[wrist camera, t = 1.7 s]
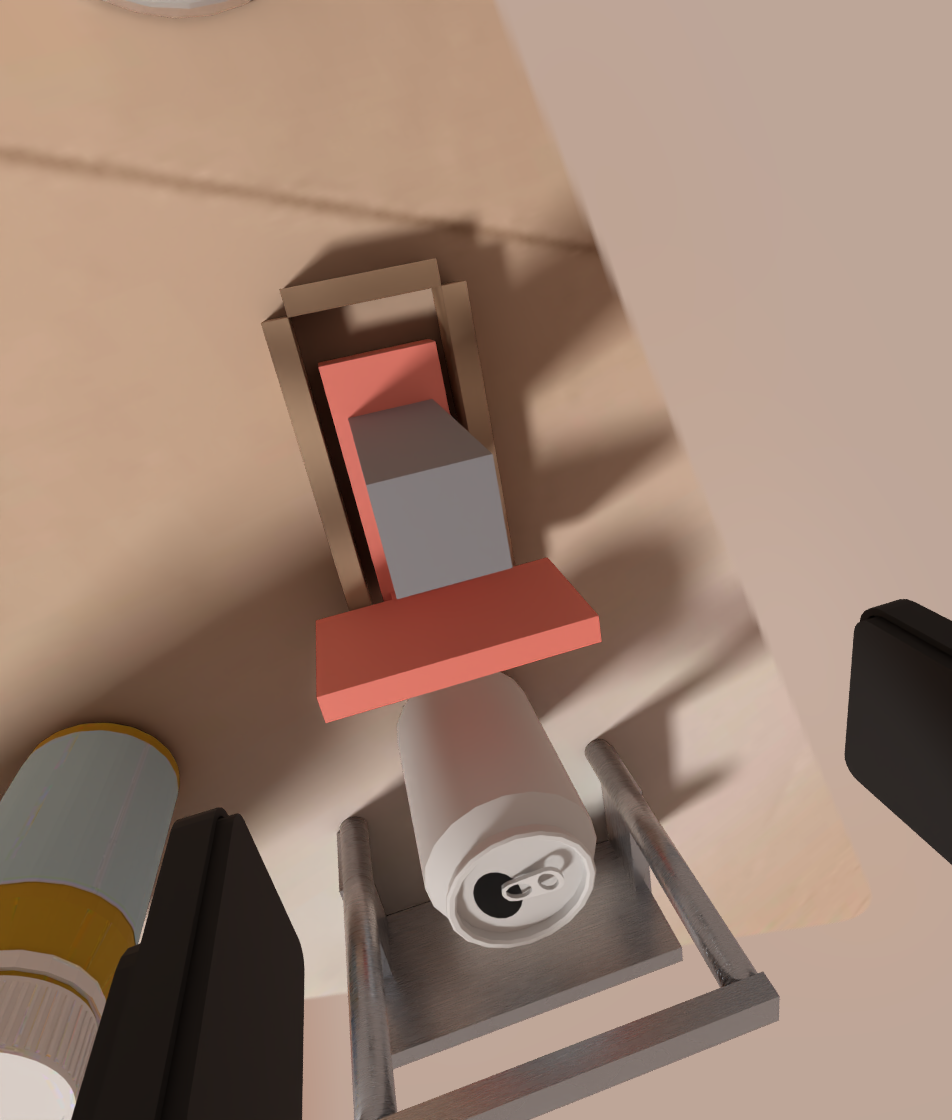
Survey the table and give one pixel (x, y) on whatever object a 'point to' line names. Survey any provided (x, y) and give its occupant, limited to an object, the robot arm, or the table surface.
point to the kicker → (430, 547)
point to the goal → (539, 975)
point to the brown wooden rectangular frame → (303, 410)
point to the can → (494, 814)
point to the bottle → (73, 900)
